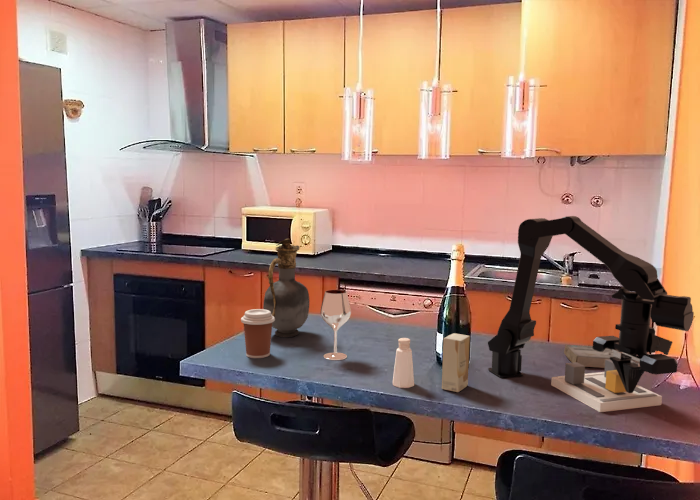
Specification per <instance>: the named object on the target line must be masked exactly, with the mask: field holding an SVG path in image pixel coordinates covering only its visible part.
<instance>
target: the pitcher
mask: <svg viewBox="0 0 700 500" xmlns="http://www.w3.org/2000/svg"><path fill="white" fill-rule="evenodd" d="M290 242H291V239H290V238H285V239H284V240H281V241H279V242H278V243H277V244H276V245H275V248H274V249H275V251H276V252H277V258H276V257H275V258H274V259H272V261H271V263H270V264H269V269H268V284H269V286H268V287H267V289H266V290H265V292H264V298H263V307H262V309H265V310H269V311H270V312H271V315H272V316H274V318H275V321H274V322H272V329H276V330H275V331H274V335H275V336H277V337H280V338H293V337H296V336H298V335H299V334H300V332H299V330H298V329H300V328H301V327H302V326H304V324H305V323H306V321H307V319H308V318H309V314H310V313H309V312H310V311H309V310H310V294H309V290H308V288H307V286H305V285H304V284H303V283H301V282H300V281H297V280H296V276H295V275H296V267H297V263H296V261H297V260H296V259H297V258H296V257H297V252H298V251H299V250H300V245H297V244H296V245H291V243H290ZM276 265H277V268H278V280H277V281H275V282H274V279H273V278H274V277H273V276H274V274H273V273H274V269H275V267H276Z"/></svg>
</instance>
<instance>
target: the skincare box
mask: <svg viewBox="0 0 700 500" xmlns="http://www.w3.org/2000/svg"><path fill="white" fill-rule="evenodd" d="M442 341H443V344H442V345H443V347H442V372H441V389H442V390H446V391H451V392H454V393H455V392H456V393H459V392H460V391H462V390H464V389H465V388H466V387H467V386H468V384H469V361H470V341H471V339H470V335H466V334H460V333H456V332H454V333H451V334H449V335H447V336H446V337H443V340H442Z"/></svg>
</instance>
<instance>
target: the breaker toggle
mask: <svg viewBox="0 0 700 500" xmlns="http://www.w3.org/2000/svg"><path fill="white" fill-rule="evenodd" d="M605 388H606V389H608V390H610V391H612V392H614V393H618V392H626V390H625V388H624V385H623V383H622V381H621V378H620V376H619V374H618V372H617V370H611V371H606V385H605Z"/></svg>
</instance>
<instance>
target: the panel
mask: <svg viewBox="0 0 700 500" xmlns="http://www.w3.org/2000/svg"><path fill="white" fill-rule="evenodd" d="M611 370H616V368H615V366H614V364H613V362H612V360H610V359H609V360H605V368H604V371H602V372H601V371H600V372H589V373H586V372H585V371H586V366H583V365H581V364H579V363H577V362H575V363H572V362H566V363H565V367H564V375H560V376H559V375H558V376H551V381H550V382H551V384H550V385H551V386H552V387H554V388H556V389H557V390H559V391H561V392H562V393H564V394H566V395H568V396H569V397H572V398H573V399H576V400H577V401H579V402H581V403H583V404H584V405H586V406H588V407H589V408H592V409H593V410H595V411H596V412H598V413H604V412H606V413H607V412H613V411H621V410H631V409H638V408H647V407H655V406H656V407H657V406H662V400H663V395H660V394H658V393H656V392H654V391H651V390H649V389H647V388H644V386H641V385H638V384H637V385H636V387H635V389H634V391H633V393H628V392H618V393H614V392H612V391H610V390H608V389H606V388H605V385H606V371H611Z"/></svg>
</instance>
